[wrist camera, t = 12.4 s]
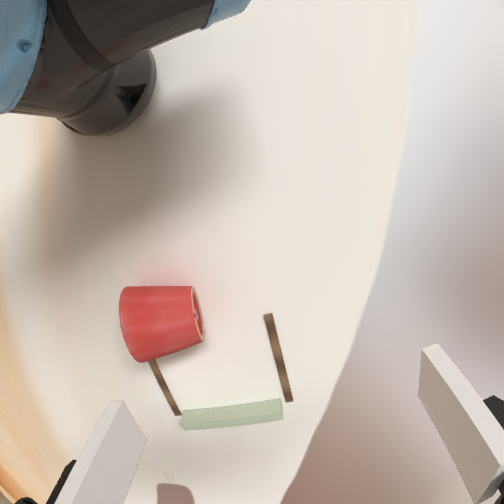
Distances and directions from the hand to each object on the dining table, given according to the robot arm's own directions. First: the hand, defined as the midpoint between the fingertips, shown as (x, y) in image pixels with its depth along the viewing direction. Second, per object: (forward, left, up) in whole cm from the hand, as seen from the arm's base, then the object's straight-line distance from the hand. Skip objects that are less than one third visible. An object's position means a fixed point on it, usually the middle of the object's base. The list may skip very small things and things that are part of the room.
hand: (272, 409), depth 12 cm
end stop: (+30, -13, -33) cm, 46 cm away
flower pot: (+8, -11, -29) cm, 32 cm away
